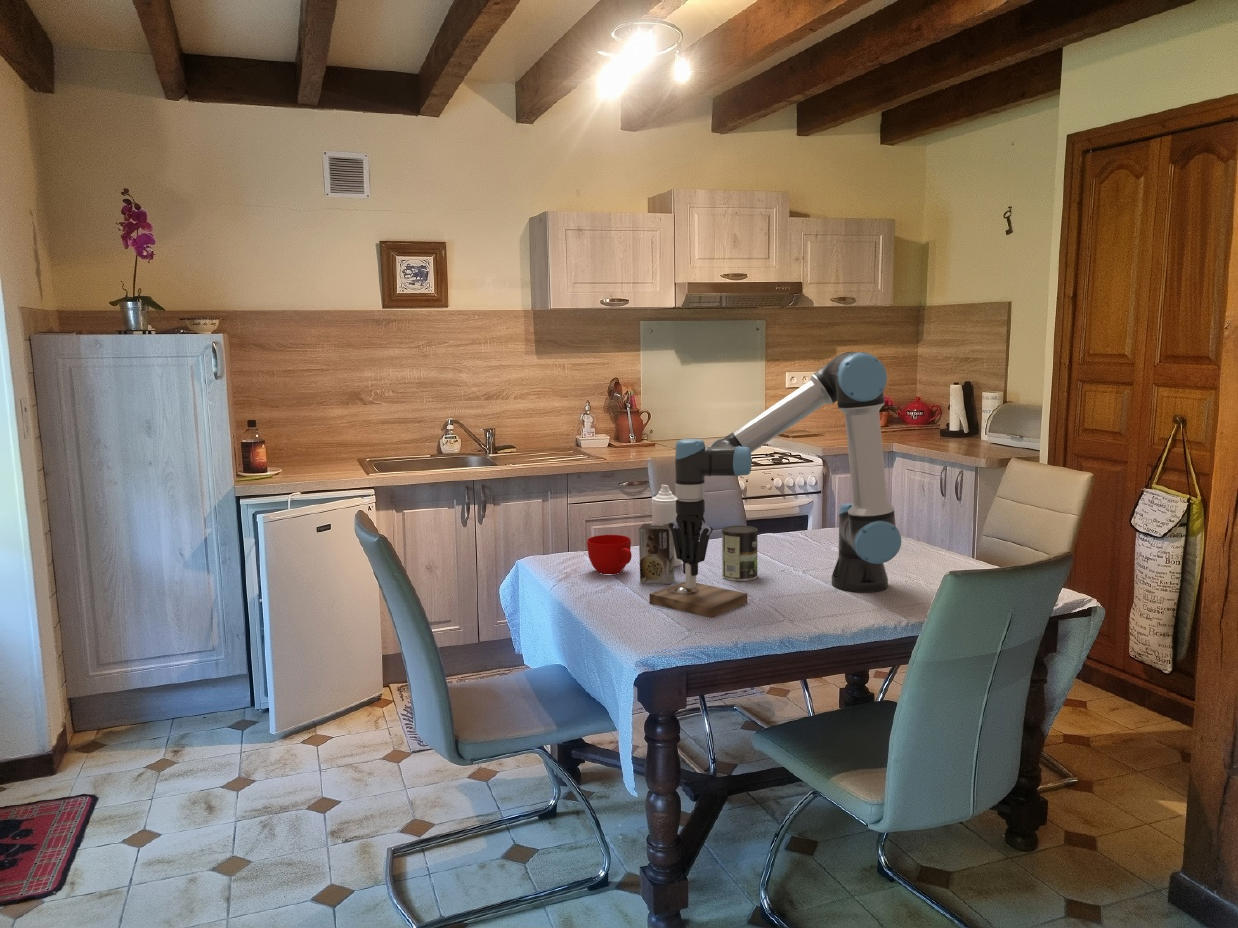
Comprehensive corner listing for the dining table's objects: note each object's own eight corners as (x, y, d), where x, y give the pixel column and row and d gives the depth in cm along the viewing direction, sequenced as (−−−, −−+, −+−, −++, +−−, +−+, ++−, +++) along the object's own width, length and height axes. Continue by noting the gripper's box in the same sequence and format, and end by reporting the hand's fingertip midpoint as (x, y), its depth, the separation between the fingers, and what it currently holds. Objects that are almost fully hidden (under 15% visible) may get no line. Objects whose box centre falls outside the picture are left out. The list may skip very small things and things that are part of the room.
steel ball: (691, 595, 250) (687, 584, 250) (684, 598, 247) (679, 587, 248) (683, 599, 252) (679, 588, 252) (676, 602, 249) (671, 591, 250)
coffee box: (675, 578, 270) (674, 523, 268) (670, 584, 264) (669, 528, 262) (644, 577, 273) (643, 522, 270) (638, 582, 266) (638, 527, 264)
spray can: (692, 566, 283) (691, 484, 279) (660, 571, 279) (660, 488, 275) (673, 558, 293) (672, 479, 290) (643, 562, 289) (642, 482, 285)
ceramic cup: (612, 583, 266) (611, 549, 265) (579, 571, 280) (578, 538, 278) (648, 575, 274) (648, 542, 272) (614, 564, 287) (613, 532, 286)
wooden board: (747, 602, 246) (747, 593, 245) (711, 617, 234) (711, 607, 234) (686, 589, 259) (686, 580, 259) (649, 602, 247) (649, 593, 247)
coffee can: (758, 572, 275) (758, 525, 273) (756, 582, 265) (756, 533, 263) (723, 571, 277) (723, 524, 275) (720, 580, 267) (720, 532, 265)
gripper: (719, 499, 243) (719, 587, 246) (679, 494, 251) (679, 579, 255) (701, 503, 237) (702, 594, 240) (661, 498, 246) (662, 585, 249)
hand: (690, 586), depth 248 cm, fingers closed
